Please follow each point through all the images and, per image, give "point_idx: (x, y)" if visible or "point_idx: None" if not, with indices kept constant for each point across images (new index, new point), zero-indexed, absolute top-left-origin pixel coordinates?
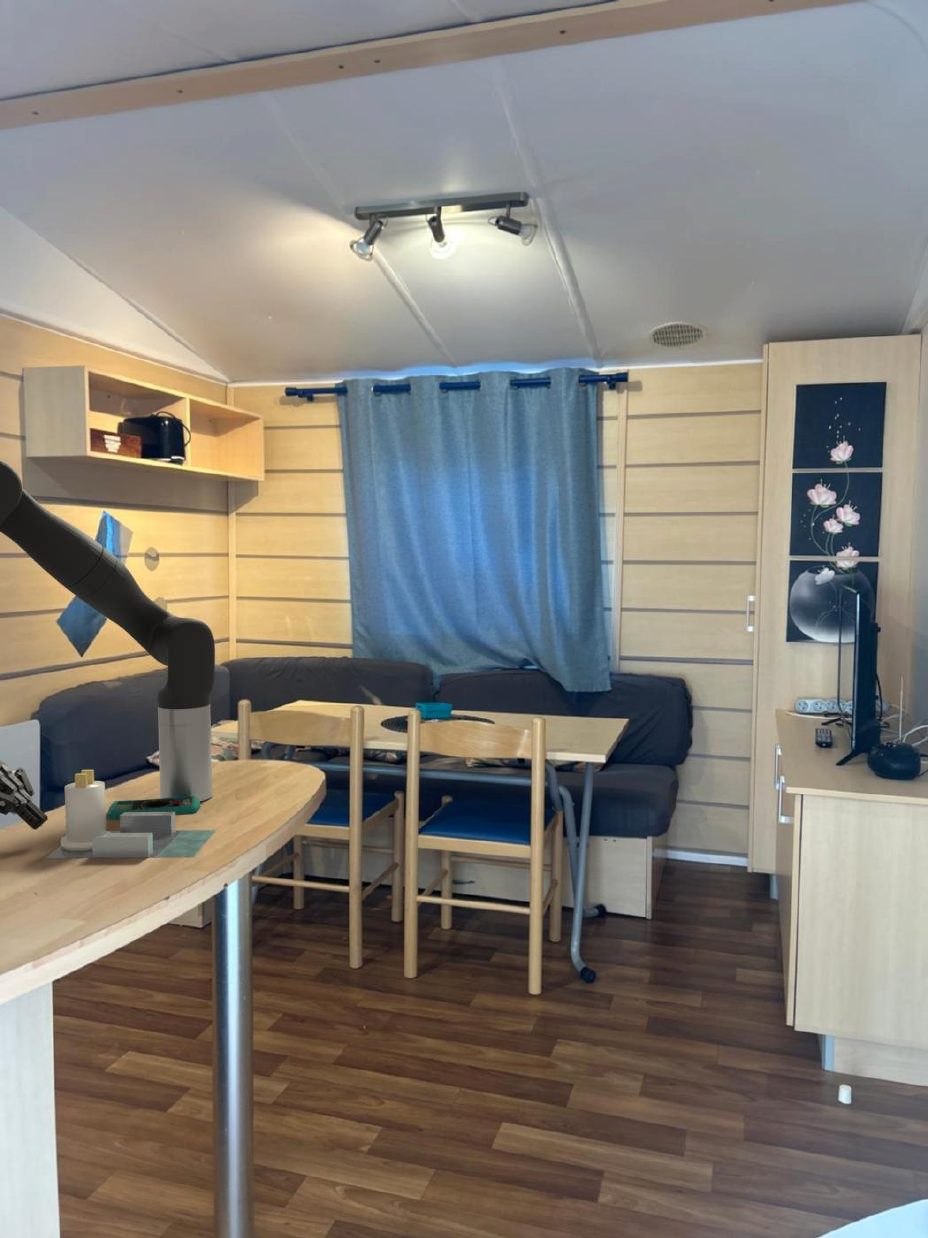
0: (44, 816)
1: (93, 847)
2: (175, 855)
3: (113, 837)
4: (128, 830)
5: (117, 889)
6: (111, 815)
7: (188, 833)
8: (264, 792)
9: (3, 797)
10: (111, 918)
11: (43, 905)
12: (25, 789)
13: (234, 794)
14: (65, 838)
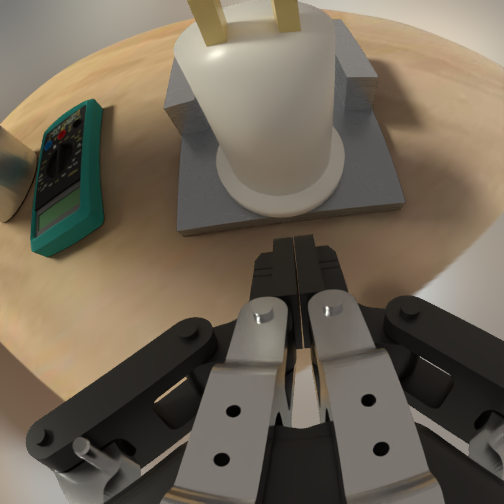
0: (290, 239)
1: (375, 92)
2: None
3: (361, 50)
4: None
5: (440, 67)
6: (91, 209)
7: None
8: (33, 114)
9: (484, 333)
10: (492, 64)
11: None
12: (189, 366)
13: (25, 139)
14: (297, 195)
